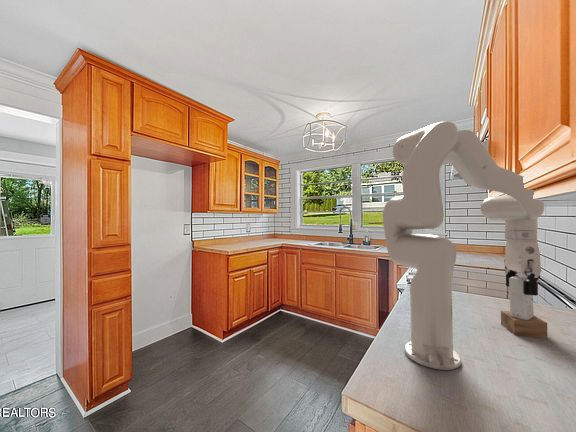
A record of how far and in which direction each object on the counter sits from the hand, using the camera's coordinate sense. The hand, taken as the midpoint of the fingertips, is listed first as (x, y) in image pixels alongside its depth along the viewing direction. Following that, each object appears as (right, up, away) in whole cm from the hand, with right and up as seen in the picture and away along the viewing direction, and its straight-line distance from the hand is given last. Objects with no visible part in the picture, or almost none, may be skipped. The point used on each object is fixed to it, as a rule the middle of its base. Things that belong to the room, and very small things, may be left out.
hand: (520, 290), depth 79 cm
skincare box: (+1, -8, 0) cm, 8 cm away
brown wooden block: (+1, -13, 0) cm, 13 cm away
